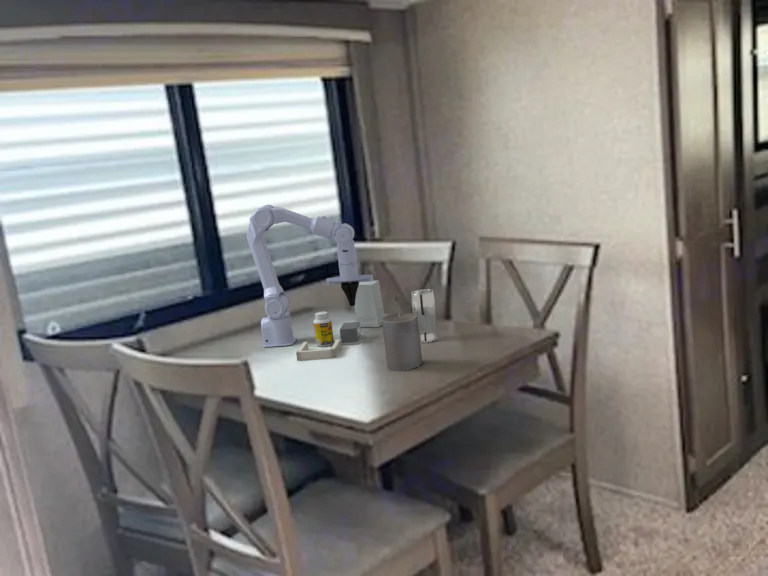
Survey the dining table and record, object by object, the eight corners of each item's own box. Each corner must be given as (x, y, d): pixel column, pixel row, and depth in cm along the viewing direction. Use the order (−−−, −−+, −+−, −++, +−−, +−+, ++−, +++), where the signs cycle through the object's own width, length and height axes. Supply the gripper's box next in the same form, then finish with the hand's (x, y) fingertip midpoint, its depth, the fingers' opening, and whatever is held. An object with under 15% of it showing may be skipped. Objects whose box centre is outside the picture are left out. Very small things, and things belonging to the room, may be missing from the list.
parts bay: (297, 360, 226) (296, 352, 226) (304, 349, 237) (303, 341, 237) (335, 357, 225) (334, 349, 225) (341, 346, 236) (340, 339, 236)
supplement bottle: (321, 348, 237) (317, 316, 235) (313, 345, 241) (309, 313, 239) (337, 344, 240) (333, 312, 238) (328, 341, 244) (324, 309, 242)
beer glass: (413, 343, 230) (408, 294, 228) (418, 337, 237) (413, 289, 234) (436, 343, 229) (431, 293, 226) (440, 336, 235) (435, 288, 232)
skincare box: (385, 323, 260) (380, 279, 257) (378, 327, 254) (373, 283, 251) (363, 323, 263) (358, 280, 260) (355, 327, 258) (350, 284, 255)
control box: (339, 346, 237) (337, 330, 236) (344, 337, 247) (342, 322, 246) (358, 344, 237) (357, 328, 236) (362, 336, 246) (361, 320, 245)
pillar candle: (394, 359, 216) (388, 308, 213) (427, 359, 213) (421, 307, 210) (382, 371, 208) (375, 317, 205) (416, 371, 204) (409, 316, 201)
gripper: (372, 258, 244) (376, 300, 247) (327, 262, 246) (332, 304, 249) (369, 262, 237) (374, 305, 240) (323, 266, 239) (328, 309, 242)
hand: (352, 305), depth 244 cm, fingers closed
